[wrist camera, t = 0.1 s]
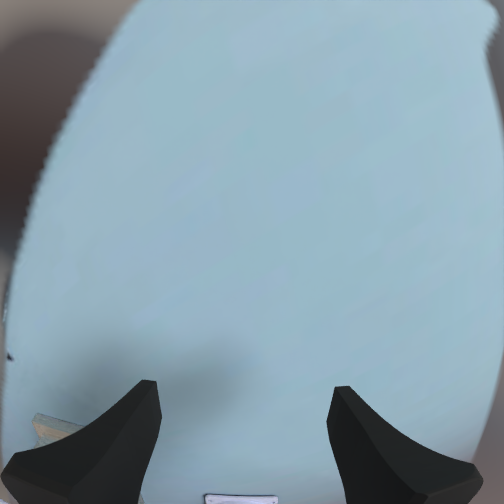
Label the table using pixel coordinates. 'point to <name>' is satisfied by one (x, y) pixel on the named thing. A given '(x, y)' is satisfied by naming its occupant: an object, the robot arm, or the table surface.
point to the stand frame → (55, 432)
